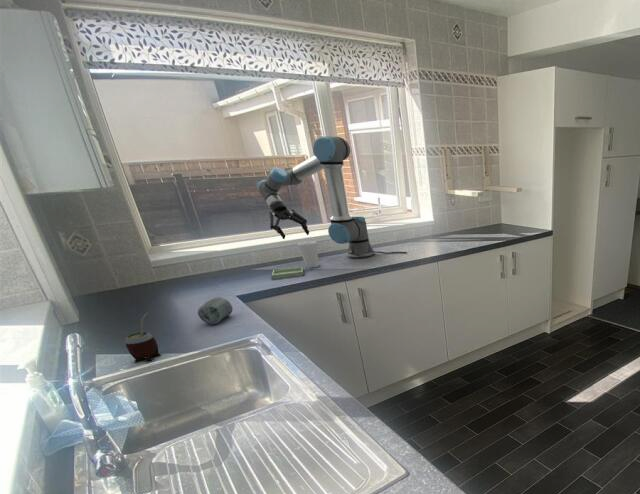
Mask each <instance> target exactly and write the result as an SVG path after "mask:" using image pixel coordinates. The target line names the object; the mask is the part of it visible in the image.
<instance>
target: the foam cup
mask: <svg viewBox="0 0 640 494" xmlns="http://www.w3.org/2000/svg"><path fill="white" fill-rule="evenodd" d="M297 246H298V249H299V252H300V255H301V256H302V259H303V262H304V264H305V267H306V268H307V269H314V268H318V267H319V254H318V244H317V241H313V240H312V241H311V240H310V241H309V240H308V241H302V242H298V243H297Z"/></svg>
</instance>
